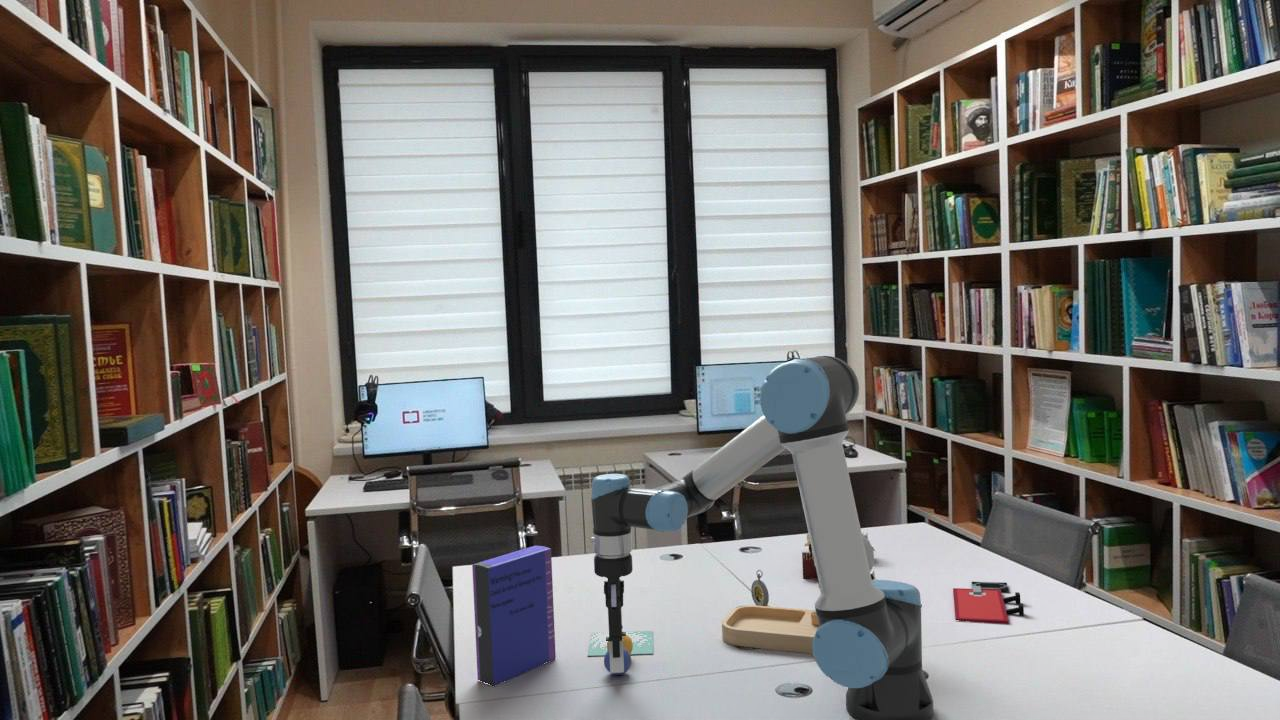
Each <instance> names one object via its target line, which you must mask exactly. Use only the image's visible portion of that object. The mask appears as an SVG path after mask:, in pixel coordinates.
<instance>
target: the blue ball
mask: <svg viewBox="0 0 1280 720" xmlns="http://www.w3.org/2000/svg"><path fill="white" fill-rule="evenodd" d="M623 656H624V672H622V673H610V653H609V650H608V651H607V653H606V654H605V656H603V657H604V658H603V663H604V667H605V669H606V670H607V672H608V673H610V674H612V675H615V676H621V675H623V674H626V673H627V672H628V671H629V669H631V665H632V657H631V656H632V655H630V654H629V652H628V651H627V650H626V649H625V648H623Z"/></svg>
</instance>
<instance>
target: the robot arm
mask: <svg viewBox="0 0 1280 720" xmlns="http://www.w3.org/2000/svg"><path fill="white" fill-rule="evenodd" d="M859 394H860V384H859V379H858V377H857V374H856V373H855V370H853V368H852V367H851V366H850V365H849V364H848V363H847V362H846V361H845V360H842V359H841V358H839V357H836V356H830V355H818V356H815V357H814V356H813V357H803V358H795V359H792V360H790V361H786V362H783V363H781V364H779V365H777V366H776V367H774V368H773V369H772V370H771V371H770V372H769V373H768V374H767V376H766V378H765V379H764V381H763V383H762V386H761V389H760V393H759V395H760V396H759V401H760V402H759V403H760V404H759V405H760V408H761V412H762V416H760V417H759V418H758V419H756V421H754V422H753V423H752V424H750V425H749V426H748V427H746V428H745V429H744V430H742V431H741V432H740V433H739V434H737V435H736V436H734V437H733V438H732V439H731V440H730V441H728V442H727V443H725V445H723V446H722V447H720V448H719V449H718V450H716V451H715V452H714V453H713V454H711V455H710V456H708V457H707V458H706V459H705V460H704V461H702V462H701V463H699V464H698V465H696V466H695V468H693V469H692V470H690V471H689V472H688V473H687V474H686V475H684V476H683V477H682V478H680V479H678V480H676V481H672V482H669V483H667V484H664V485H661V486H658V487H654V488H639V487H634V486H631V483H630V478H629V476H628V475H625V474H621V473H606V474H600V475H597V476H595V477H594V478H592V481H591V498H590V501H591V511H592V524H593V527H592V533H593V536H592V537H590V538H589V541H590V543H593V553H595V554H594V556H593V566H594V567H593V568H594V573H595V574H594V575H596V576H598V577H601V578H606V579H607V580H603V581H604V582H603V583H604V584H603V594H604V595H605V607H606V608H607V615H608V617H607V618H608V632H609V637H606V641H609V653H610V672H609V674H611V673H622V672H624V656H623V636H626V632H627V631H623V628H624V627H623V622H622V621H623V620H622V618H623V616H622V615H623V614H622V608H623V607H624V593H625V581H624V579H623V580H621V577H626V576H629V575H630V574H632V572H633V555H632V554H631V552H632V551H633V542H632V541H633V538H632V537H633V536H632V528H636V529H637V528H639V529H645V530H651V531H658V532H661V533H664V532H678V531H679V530H680V529H682V528H683V525H684V524H685V523H686V521H687V518H690V517H693V516H695V515H700V514H703V513H704V512H706V511H707V510H709V509H710V508H711V507H713V506H714V504H715V502H716V501H717V500H718V499H719V498H721V497H722V496H723V495H725V494H726V493H727V492H730V491H731V489H733V488H734V487H736V486H737V485H738V484H739V483H741V482H742V481H744V480H745V479H747V478H748V477H750V475H752V474H754V473H755V472H756V471H757V470H759V469H760V468H761V467H763V466H765V465H766V464H767V463H769V462H770V461H771V460H773V459H774V458H775V457H777V456H778V455H779V454H781V453H782V452H784V451H785V450H788V451H789V452H790V453H791V457H792V461H793V467H794V471H795V475H796V479H797V484H798V489H799V493H800V499H801V504H802V508H803V509H802V510H803V512H804V517H805V522H806V526H807V532H808V533H809V537H810V542H811V547H812V551H813V556H814V561H815V566H816V570H817V575H818V579H817V580H818V585H819V584H820V588H819V589H820V595H819V596H818V598H817V599H816V601H815V602H814V609H815V610H816V614H817V619H818V624H819V628H818V629H817V631H816V633H815V635H814V638H813V643H812V650H813V658H814V660H815V662H816V665H817V666H818V668H819V669H820V671H821V672H822V673H823V674H824V675H825V676H826V677H828V678H829V679H830V680H832V681H833V682H834V683H836V684H837V685H840V686H842V687H844V688H847V690H846V695H845V707H846V712H847V713H848V714H849V715H850V716H851V717H853V718H854V719H856V720H930V719H931V720H932V719H933V717H934V710H935V709H934V699H933V696H932V694H931V691H930V690H931V689H930V687H929V685H928V682H927V679H926V676H925V674H924V670H923V647H922V646H923V641H922V638H923V637H922V608H923V604H922V601H921V592H920V591H919V589H918V588H917V587H916V586H915V585H912V584H909V583H907V582H902V581H896V580H889V579H875V580H872V579H871V575H870V574H871V571H870V570H869V565H868V561H867V556H866V551H865V547H864V542H863V537H862V534H863V532H862V529H861V523H860V520H859V514H858V511H857V506H856V501H855V496H854V491H853V487H852V484H851V477H850V472H849V469H848V463H847V459H846V455H845V450H844V445H843V444H844V443H843V442H844V440H845V439H846V437H847V435H848V434H849V432H850V429H849V425H848V421H847V415H848V414H849V413H850V412H851V411H852V410H853V409H854V407H855V405H856V404H857V402H858V399H859ZM808 533H807V534H808Z"/></svg>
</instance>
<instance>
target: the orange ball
mask: <svg viewBox="0 0 1280 720" xmlns="http://www.w3.org/2000/svg"><path fill="white" fill-rule="evenodd" d="M623 648H625V649H626V650H627V651H628V652H629V654H631V652H632V649H633V643H632V640H631V638H630V637H629V636H628V635H626V636H623ZM608 650H609V641H608V642H607V651H608Z"/></svg>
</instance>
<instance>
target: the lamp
mask: <svg viewBox="0 0 1280 720" xmlns="http://www.w3.org/2000/svg"><path fill="white" fill-rule="evenodd" d="M864 535H865V534H864ZM864 535H863V533H862V537H863V542H864V547H865V551H866V556H867V561H868V565H869V570H870V572H872V570H873V566H874V561H875V555H874V554H875V553H874V551H873V549H872V547H873V546H872V544H871V542H870V540H869V538H868V539H867V538H866V537H865V536H864ZM741 606H742V607H739V606H736V607H737V608H736V607H735V608H733V609H731V610H730V611H729V612H728V614H727V615H726V616H725V617H724V618H723V619H722V621H721V632H722V633H721V636H722V638H721V639H722V640H723V641H724V642H725V643H726V644H728V645H732V646H736V647H743V646H744V647H745V648H753V647H754V649H764V650H765V649H766V650H772V649H773V651H774V650H775V651H782V650H783V652H784V651H785V652H791V653H792V652H795V653H802V654H813V650H812V643H813V638H814V635H815V633H816V631H817V629H818V628H819V624H818V619H817V614H816V610H814V609H802V608H801V609H800V608H793V607H792V608H789V607H780V606H779V607H778V606H768V605H767V606H756V604H753V605H748V606H747V605H741Z"/></svg>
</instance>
